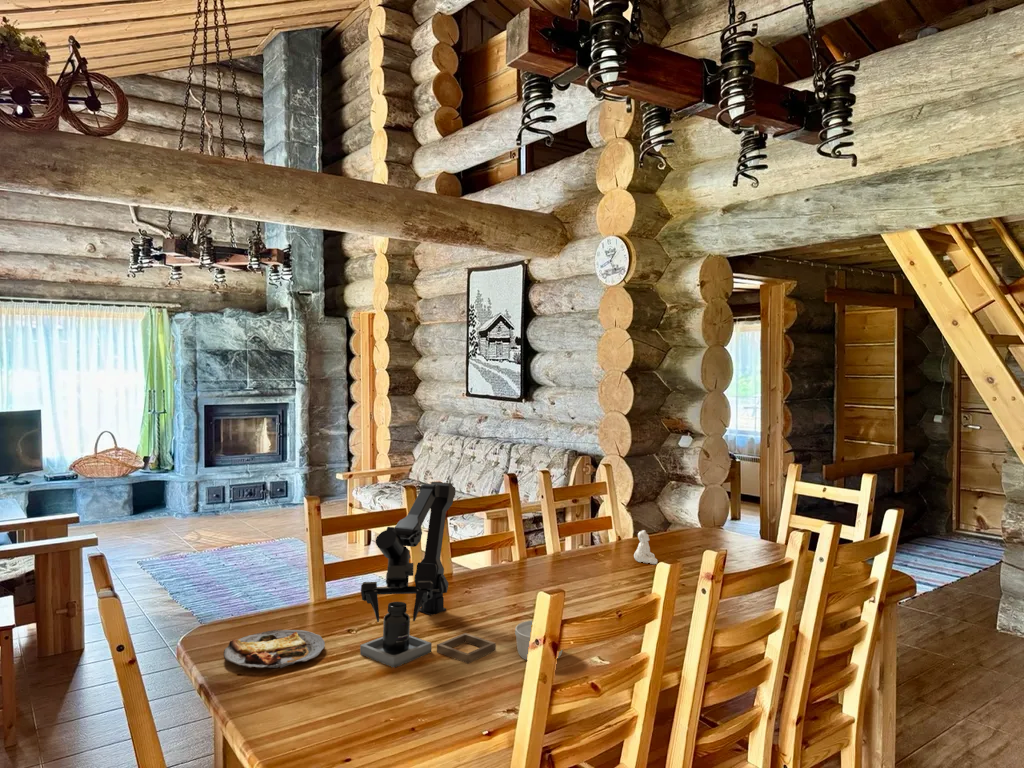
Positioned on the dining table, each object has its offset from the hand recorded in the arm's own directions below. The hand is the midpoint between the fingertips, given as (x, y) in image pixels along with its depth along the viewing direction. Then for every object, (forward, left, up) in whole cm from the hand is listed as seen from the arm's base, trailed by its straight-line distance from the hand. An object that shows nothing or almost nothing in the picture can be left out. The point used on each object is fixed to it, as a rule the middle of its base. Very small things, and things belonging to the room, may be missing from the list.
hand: (395, 621), depth 191 cm
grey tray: (-1, +1, -9) cm, 9 cm away
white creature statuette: (+5, +123, -9) cm, 123 cm away
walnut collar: (+12, +14, -9) cm, 21 cm away
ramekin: (+28, +25, -9) cm, 39 cm away
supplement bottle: (-1, +1, -8) cm, 8 cm away
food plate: (-25, -20, -10) cm, 33 cm away
